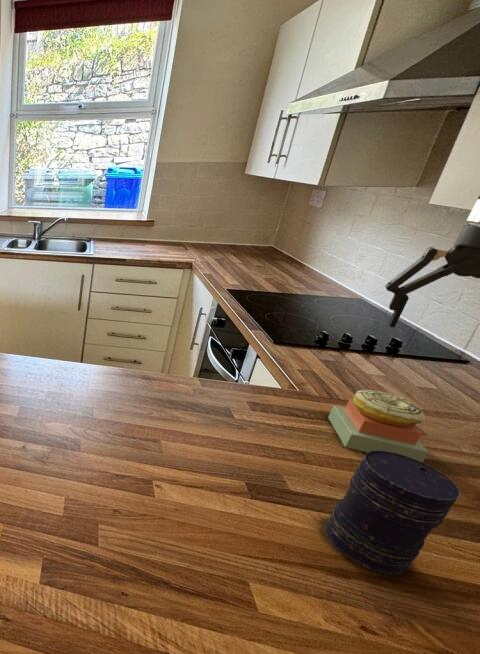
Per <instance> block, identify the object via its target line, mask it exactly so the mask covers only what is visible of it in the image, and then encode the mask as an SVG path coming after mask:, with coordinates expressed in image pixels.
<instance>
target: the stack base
mask: <svg viewBox="0 0 480 654" xmlns="http://www.w3.org/2000/svg"><path fill="white" fill-rule="evenodd" d="M345 408H346V406H345V407H343V406H339V405H335V404H334V405H333V406H332V408H331V410H330V413H329V415H328V416H327V419H328V420H329V421H330V423H331V425H332V427H333V429H334V430H335V432H336V434H337V435H338V437H339V439H340V441H341V443H342V444H343V446H344V447H345V448H346V449H351V450H356V451H359V452H363V453H364V452H365V453H368V452H370V451H388V452H393V453H397V454H401V455H404V456H407V457H410V458H413V459H415V460H418V461H420V462H422V463H424V460H425V459H426V457H427V456H428V454H429V450H428V449H427V448H426V447H425V445H424V444H423V443H422V442H421V441H420V439H419V440H418V441H417V443H416V445H413V444H408V443H404V442H400V441H395V440H391V439H387V438H382V437H378V436H374V435H369V434H365V433H361V432H358V430H357V429H356V427H355V426H354V424H353V423H352V421H351V420H350V418H349V417H348V415H347V414H346V412H345V411H344V410H345Z"/></svg>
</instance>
